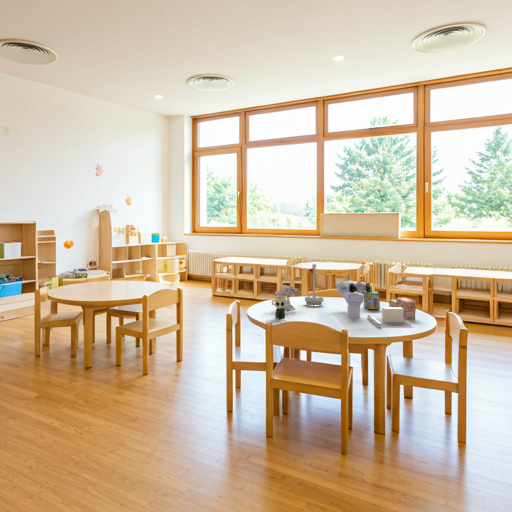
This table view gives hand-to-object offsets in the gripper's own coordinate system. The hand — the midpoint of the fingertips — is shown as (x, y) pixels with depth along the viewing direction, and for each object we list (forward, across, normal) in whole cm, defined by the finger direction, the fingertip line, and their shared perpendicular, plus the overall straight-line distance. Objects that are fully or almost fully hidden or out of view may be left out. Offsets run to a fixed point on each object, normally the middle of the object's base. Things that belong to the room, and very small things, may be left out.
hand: (363, 288), depth 234 cm
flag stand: (-62, -19, +17) cm, 67 cm away
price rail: (-5, +8, +20) cm, 22 cm away
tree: (-48, -39, +18) cm, 64 cm away
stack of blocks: (-24, +31, +20) cm, 44 cm away
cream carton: (-9, +20, +20) cm, 30 cm away
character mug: (-23, -46, +20) cm, 55 cm away
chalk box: (-49, +19, +18) cm, 55 cm away
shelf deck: (-5, +17, +21) cm, 28 cm away
